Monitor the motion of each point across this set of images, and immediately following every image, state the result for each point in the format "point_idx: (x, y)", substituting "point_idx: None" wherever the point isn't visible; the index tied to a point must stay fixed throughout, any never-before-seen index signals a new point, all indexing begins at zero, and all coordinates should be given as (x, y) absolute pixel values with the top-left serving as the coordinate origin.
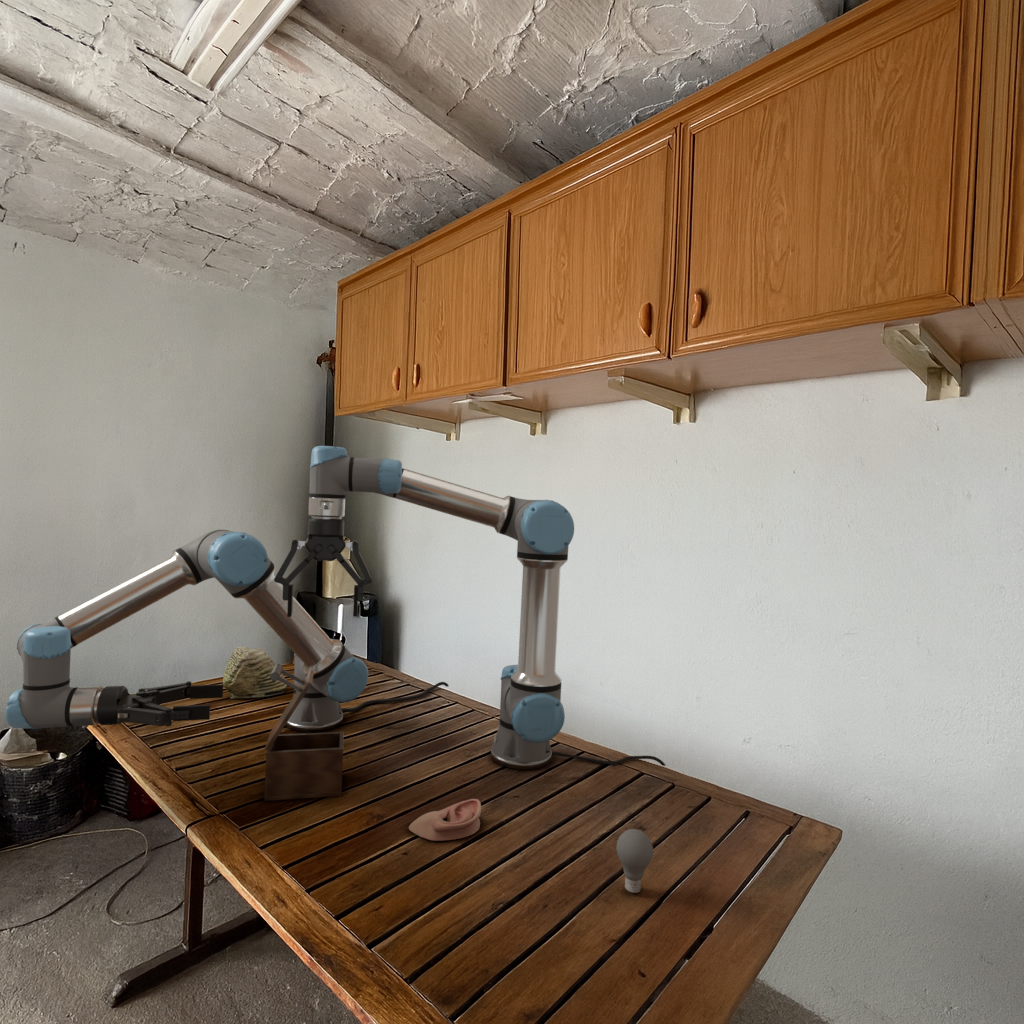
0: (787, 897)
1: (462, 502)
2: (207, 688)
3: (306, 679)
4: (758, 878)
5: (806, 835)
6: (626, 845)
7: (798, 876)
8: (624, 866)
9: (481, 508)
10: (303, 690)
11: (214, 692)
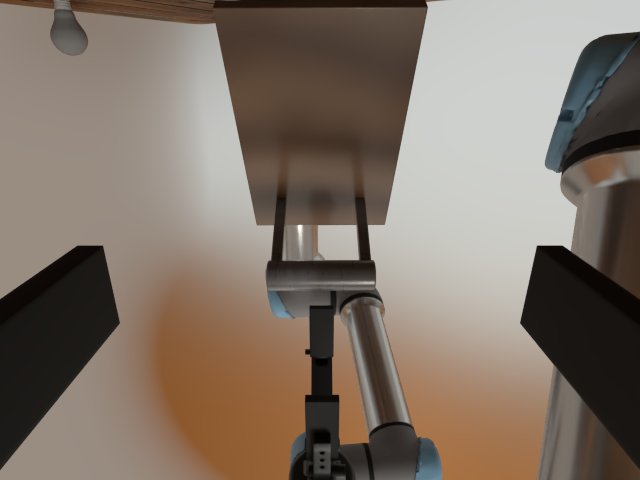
0: (97, 13)
1: (353, 356)
2: (580, 372)
3: (336, 213)
4: (118, 12)
5: (189, 21)
6: (57, 46)
7: (128, 16)
8: (56, 22)
9: (349, 336)
10: (253, 207)
11: (557, 309)
